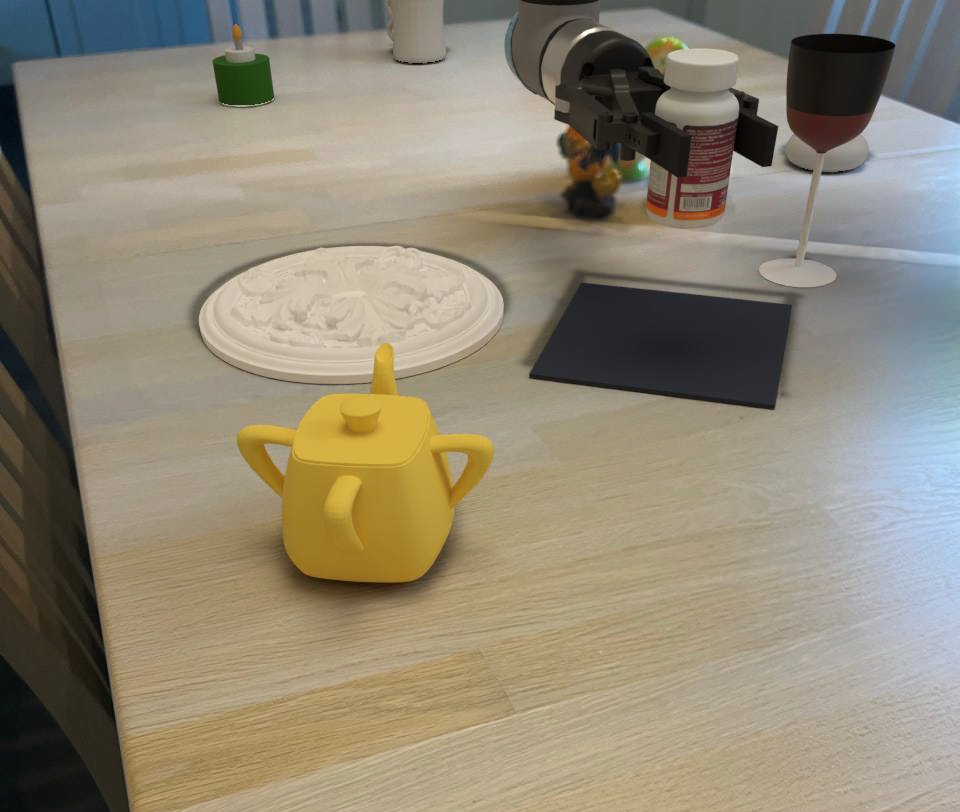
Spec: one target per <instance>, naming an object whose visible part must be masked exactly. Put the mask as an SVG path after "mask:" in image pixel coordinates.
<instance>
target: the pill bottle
mask: <svg viewBox="0 0 960 812" xmlns="http://www.w3.org/2000/svg"><path fill="white" fill-rule="evenodd" d="M739 62H740V58H739V56H738V54H736V53H734V52H732V51H728V50H724V49H717V48H703V47H698V48H697V47H695V48H683V49H677V50H673V51H670V52H669V53H668V54H667V56H666V60H665V69H664V74H665V75H664V83H665V84H666V85H668V86H670V87H671V88H670V90H668V91H666V92H665V93H663V94H662V95H661V96H660V98H659V99H658V101H657V104H656V109H655V115H657V116H658V117H660V118H662V119H664V120H665V121H667V122H669V123H670V124H672V125H674V126H676V127H677V128H679V129H681V130H683V131H684V132H686V133H688V134H690V135H691V136H692V137H691V145H690V153H689V162H688V170H687V176H686V177H676V176H674V175H673V174H671V173H670V172H668V171H667V170H665V169H664V168H662V167H660V166H659V165H657V164H656V163H654V162H653V161H651V160H650V162H649V163H650V164H649V172H648V173H649V174H648V182H647V194H646V207H645V210H646V211H645V212H646V215H647V216H648V218H649V219H650V220H651V221H653V222H655V223H657V224H658V225H662V226H665V227H668V228H673V229H681V230H690V229H691V230H693V229H700V228H706V227H711V226H713V225H716V224H717V223H719V222H720V221H721V220H722V219H723V218H724V215H725V212H726V205H727V199H728V191H729V185H730V177H731V170H732V163H733V155H734V151H733V149H734V142H735V136H736V128H737V122H738V117H739V103H738V100H737V98H736V97H735V96H734V95H733V94H732V93H731V92H729V88H734V87H735V86H736V84H737V80H738V70H739Z"/></svg>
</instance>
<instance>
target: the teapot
mask: <svg viewBox="0 0 960 812" xmlns="http://www.w3.org/2000/svg"><path fill="white" fill-rule="evenodd" d="M300 420H301V421H300V422H299V424H298V426H297V428H296V429H293V428H290V427H283V426H277V425H270V424H268V425H267V424H252V425H248V426H245V427H243V428H242V429H240V431H238V433H237V435H236V445H237V448H238V450H239V452H240V454H241V456H242V458H243V459H244V461H245V462H246V463H247V465H248V466H249V467H250V469H251V470H252V471H253V472H254V473H255V474H256V475H257V476H258V477H259V478H260V479H261V480H262V481H263V482H264V483H265V484H266V485H267V486H268V487H269V488H270V489H271V490H273V492H275V493H276V494H277V495H278V496H279V497H280V498H281V526H282V528H281V529H282V540H283V545H284V549H285V551H286V553H287V556H288V557H289V559H290V561H291V562H292V563H293V564H294V566H296V567H297V568H298V570H300V571H301V572H302V574H304V575H306V576H309V577H313V578H319V579H325V580H335V581H343V582H344V581H346V582H357V583H407V582H412V581H416V580H418V579H420V578H421V577H423V576H424V575H425V574H426V573H428V571H429V570H430V569H431V567H432V566H433V564H434V563H435V561H436V560H437V558H438V556H439V554H440V553H441V551H442V549H443V547H444V545H445V543H446V541H447V538H448V536H449V534H450V532H451V530H452V529H451V528H452V525H453V523H454V522H453V521H454V516H455V507H456V506H457V505H458V504H459V503H460V502H461V501H462V500H463V499H464V498H466V496H468V494H469V493H470V492H471V491H472V490H473V489H474V488H475V487H476V486H477V485H478V484H479V483H480V482H481V480H482V479H483V478H484V476H485V475H486V474H487V473H488V471H489V469H490V468H491V465H492V463H493V459H494V456H495V448H494V443H492V441H491V440H490V439H489V438H487V437H485V436H483V435H479V434H473V433H451V434H450V433H449V434H441V433H440V430H439V428H438V425H437V422H436V420H435V418H434V415H433V413H432V411H431V409H430V407H429V405H428V404H427V402H425V401H424V400H423V399H422V398H419V397H414V396H406V395H399V392H398V388H397V382H396V379H395V376H394V350H393V347H392V346H391V344H389V343H384V344H382V345H380V346H379V348H378V349H377V351H376V354H375V359H374V370H373V378H372V382H371V384H370V391H369V393H331V394H327V395H324V396H322V397H320V398H319V399H318V400H316V402H314V403H313V404H312V406H310V407H309V409H308V410H307V412H306V413H305V414H304V416H303V418H302V419H300ZM265 444H268V445H269V444H271V445H279V446H285V447H290V452H289V455H288V460H287V465H286V469H285V474H284V473H283V472H282V471H281V470H280V469H279V468H278V467H277V465H276V464H275V462H274V461H273V459H272V457H271V456H270V454H269V453H268V451H267V450H266V447H265ZM448 453H462V454H464V455H466V456H467V460H466V461H467V462H466V465H465V467H464V469H463V471H462V472H461V475H460V477H459V478H458V479H457V481H456V482H455V484H454V483H453V475H452V471H451V465H450V461H449V457H448Z"/></svg>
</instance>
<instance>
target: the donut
mask: <svg viewBox="0 0 960 812" xmlns="http://www.w3.org/2000/svg"><path fill="white" fill-rule="evenodd" d="M784 151H785V155H786V158H787V160H788V161H790V163H792V165H795V166H796V167H798V168H801V169H803V168H804V169H803V170H807V169H808V171H812V170H814V165H815V160H816V154H817V152H816V151H815V150H814V149H813V148H811V147H810V146H809V145H807V144H806V143H804V142H803V141H801V140H800V139H799V138H798V137H797V136H796V135H795V134H794V133H793V134H792V135H791V136H790V137H789V139H788V140H787V142H786V144H785V149H784ZM869 152H870V146H869V142H868V141H867V139H866V138H865V136H863V135H862V134H860V135H858V136H857V137H856V138H854V139H852V140H851V141H849V142H847V143H845V144H843V145H840V146H838V147H836V148H834V149H831V150H829V151H827V152H826V153H825V157H824V162H823V167H822V172H821V173H839V172H838V171H843V172H847V171H851V170H854V169H856V168H858V167H860V166H861V165H862V164H863V163H864V162H865V161H866V159H867V157H868V156H869ZM846 170H847V171H846Z"/></svg>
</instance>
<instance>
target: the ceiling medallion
mask: <svg viewBox="0 0 960 812" xmlns="http://www.w3.org/2000/svg"><path fill="white" fill-rule="evenodd" d="M504 305H505V304H504V299H503V295H502V293H501V291H500V290H499V289H498V287H497V286H496V285H495V283H494V282H492V281H491V280H490V279H489V278H488V277H486V276H485V275H484V274H482V273H480V272H478V271H477V270H475V269H473V268H472V267H470V266H468V265H465V264H463V263H461V262H459V261H456V260H454V259H450V258H448V257H444V256H441V255H438V254H434V253H431V252H428V251H423V250H419V249H417V248H415V247H408V248H404V247H403V246H401V245H392V246H382V245H351V246H336V247H326V248H325V247H318V248H316V249H311V250H306V251H302V252H301V251H300V252H296V253H293V254H287V255H285V256H282V257H281V256H280V257H278V258H274V259H271V260H269V261H266V262H264V263H261V264H259V265H256V266H253V267H251V268H249V269H248V270H245V271H243V272H242V273H239V274H238V275H236V276H234V277H232V278H231V279H229V280H228V281H226V282H225V283H223V284H222V285H221V286H220V287H218V288H217V289H216V290H215V291H213V292H212V294H210V296H209V297H207V299H206V300H205V301H204V303H203V305H202V306H201V309H200V311H199V314H198V315H199V316H198V325H199V330H200V335H201V339H202V340H203V343H204V344H205V346H206V347H207V348H208V349H209V350H210V351H211V352H212V353H213V354H214V355H215V356H216V357H218V358H219V359H220V360H222V361H224V362H226V363H227V364H230V365H231V366H233V367H235V368H238V369H240V370H243V371H244V372H248V373H251V374H254V375H258V376H262V377H266V378H271V379H275V380H280V381H287V382H293V383H294V382H295V383H302V384H314V385H315V384H317V385H318V384H319V385H348V384H349V385H351V384H355V385H356V384H366V383H372V378H373V370H374V359H375V354H376V351H377V349H378V348H379V346H380V345H382V344H384V343H389V344H391V346H392V347H393V350H394V376H395V380H397V379H403V378H408V377H411V376H417V375H420V374H424V373H427V372H431V371H434V370H437V369H441V368H444V367H447V366H448V365H451V364H453V363H456V362H458V361H461V360H463V359H465V358H467V357H468V356H470V355H472V354H474V353H475V352H477V351H478V350H480V349H481V348H482V347H484V346H485V345H487V344H488V343H489V342H490V341H491V340H492V339H493V338H494V337H495V335H496V334H497V333H498V331H499V330H500V328H501V326H502V324H503V321H504V311H505V309H504V308H505V306H504Z"/></svg>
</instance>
